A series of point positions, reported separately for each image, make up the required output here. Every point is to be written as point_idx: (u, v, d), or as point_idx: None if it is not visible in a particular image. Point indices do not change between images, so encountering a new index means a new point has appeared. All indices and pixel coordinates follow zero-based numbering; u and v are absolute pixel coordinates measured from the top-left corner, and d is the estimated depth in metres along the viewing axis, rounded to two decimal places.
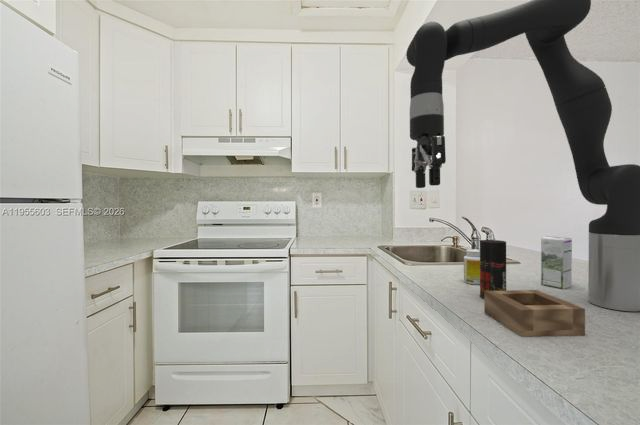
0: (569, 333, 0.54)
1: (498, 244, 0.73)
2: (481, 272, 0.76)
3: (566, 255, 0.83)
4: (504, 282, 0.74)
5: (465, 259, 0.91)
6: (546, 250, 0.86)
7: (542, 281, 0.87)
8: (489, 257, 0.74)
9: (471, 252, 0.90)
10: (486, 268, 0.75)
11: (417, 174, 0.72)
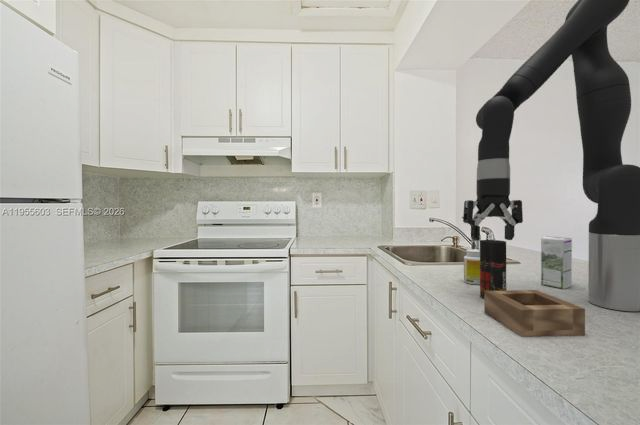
0: (569, 333, 0.54)
1: (498, 244, 0.73)
2: (481, 272, 0.76)
3: (566, 255, 0.83)
4: (504, 282, 0.74)
5: (465, 259, 0.91)
6: (546, 250, 0.86)
7: (542, 281, 0.87)
8: (489, 257, 0.74)
9: (471, 252, 0.90)
10: (486, 268, 0.75)
11: None
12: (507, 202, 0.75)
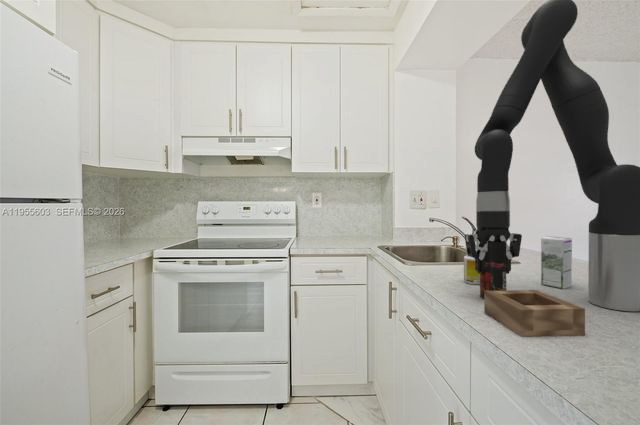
0: (569, 333, 0.54)
1: (498, 244, 0.73)
2: None
3: (566, 255, 0.83)
4: (504, 282, 0.74)
5: (465, 259, 0.91)
6: (546, 250, 0.86)
7: (542, 281, 0.87)
8: (489, 257, 0.74)
9: None
10: (486, 268, 0.75)
11: None
12: (507, 234, 0.75)
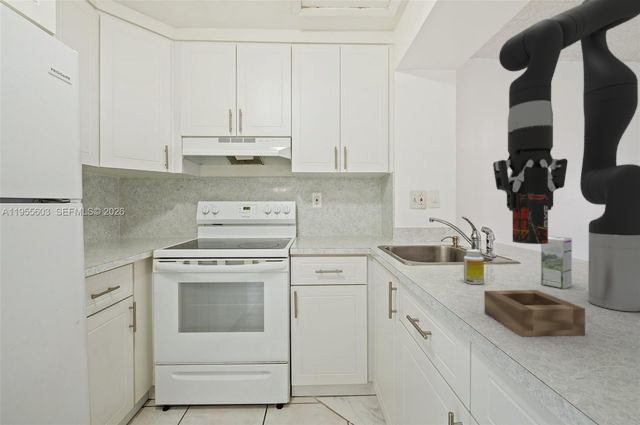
0: (569, 333, 0.54)
1: (538, 169, 0.57)
2: None
3: (566, 255, 0.83)
4: (546, 219, 0.57)
5: (465, 259, 0.91)
6: (546, 250, 0.86)
7: (542, 281, 0.87)
8: (526, 187, 0.58)
9: (471, 252, 0.90)
10: (522, 203, 0.58)
11: None
12: (549, 158, 0.59)
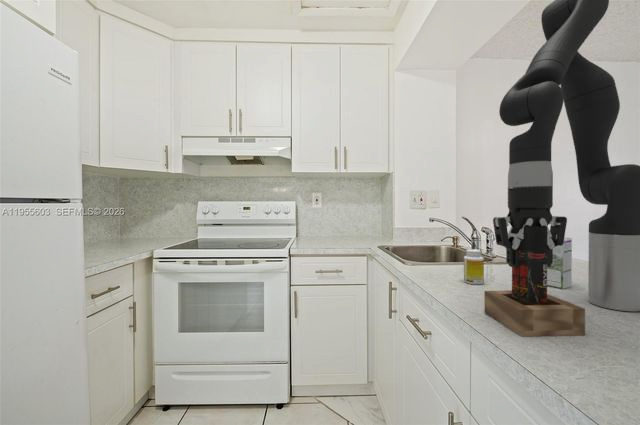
0: (569, 333, 0.54)
1: (538, 229, 0.57)
2: None
3: (566, 255, 0.83)
4: (545, 278, 0.58)
5: (465, 259, 0.91)
6: None
7: None
8: (525, 245, 0.58)
9: (471, 252, 0.90)
10: (521, 260, 0.59)
11: None
12: (548, 216, 0.59)
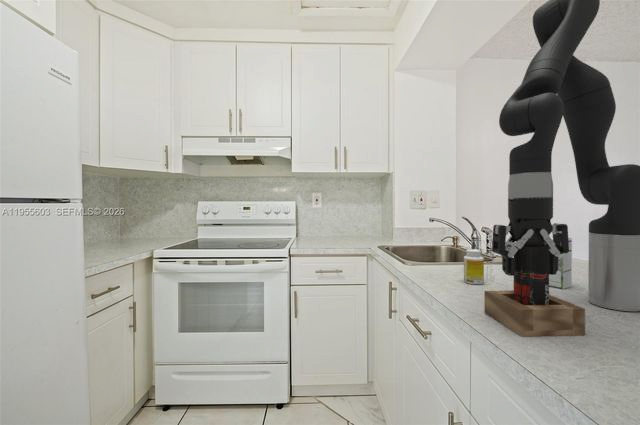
0: (569, 333, 0.54)
1: (540, 249, 0.57)
2: (516, 284, 0.60)
3: (566, 255, 0.83)
4: (547, 298, 0.58)
5: (465, 259, 0.91)
6: None
7: None
8: (527, 265, 0.58)
9: (471, 252, 0.90)
10: (523, 280, 0.59)
11: None
12: (549, 227, 0.59)
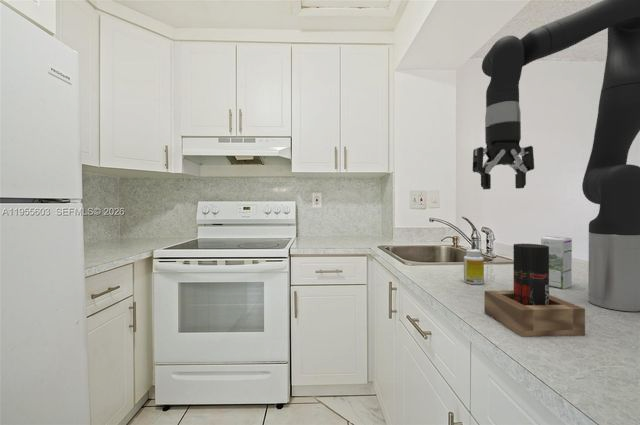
0: (569, 333, 0.54)
1: (540, 249, 0.57)
2: (516, 284, 0.60)
3: (566, 255, 0.83)
4: (547, 298, 0.58)
5: (465, 259, 0.91)
6: None
7: None
8: (527, 266, 0.58)
9: (471, 252, 0.90)
10: (523, 280, 0.59)
11: None
12: (518, 148, 0.72)
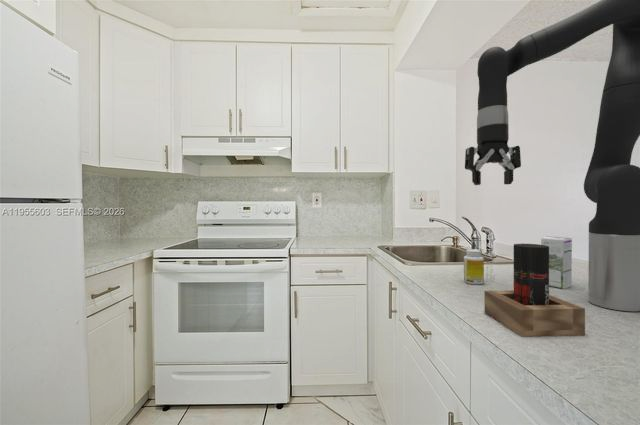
0: (569, 333, 0.54)
1: (540, 249, 0.57)
2: (516, 284, 0.60)
3: (566, 255, 0.83)
4: (547, 298, 0.58)
5: (465, 259, 0.91)
6: None
7: None
8: (527, 266, 0.58)
9: (471, 252, 0.90)
10: (523, 280, 0.59)
11: None
12: (506, 148, 0.79)
